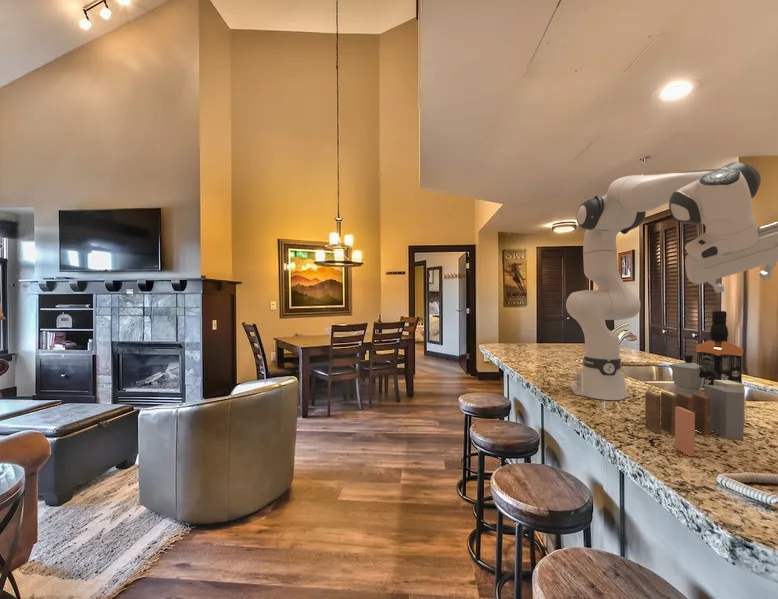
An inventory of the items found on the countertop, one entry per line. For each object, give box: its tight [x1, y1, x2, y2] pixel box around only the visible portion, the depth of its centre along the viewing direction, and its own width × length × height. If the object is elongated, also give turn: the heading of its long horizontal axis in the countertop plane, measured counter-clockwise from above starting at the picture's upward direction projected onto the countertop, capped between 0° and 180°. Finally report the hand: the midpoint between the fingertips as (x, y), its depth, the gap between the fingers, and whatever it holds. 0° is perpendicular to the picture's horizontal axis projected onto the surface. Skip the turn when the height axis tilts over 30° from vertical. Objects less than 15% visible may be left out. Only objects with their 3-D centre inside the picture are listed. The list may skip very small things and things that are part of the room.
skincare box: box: [714, 380, 746, 428], centre depth 109 cm, size 6×4×12 cm
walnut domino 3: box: [677, 393, 694, 412], centre depth 102 cm, size 1×5×10 cm, turn 173°
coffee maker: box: [668, 354, 720, 397], centre depth 120 cm, size 15×9×18 cm, turn 18°
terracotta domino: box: [674, 407, 696, 457], centre depth 88 cm, size 1×5×10 cm, turn 172°
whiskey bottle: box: [695, 310, 744, 396], centre depth 129 cm, size 10×10×32 cm
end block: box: [705, 385, 745, 441], centre depth 101 cm, size 8×4×12 cm, turn 173°
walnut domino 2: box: [660, 391, 677, 435], centre depth 102 cm, size 1×5×10 cm, turn 173°
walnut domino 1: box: [644, 391, 661, 434], centre depth 103 cm, size 1×5×10 cm, turn 172°
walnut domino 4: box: [692, 393, 711, 437], centre depth 101 cm, size 1×5×10 cm, turn 173°
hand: (742, 284), depth 94 cm, fingers open, 8 cm apart
